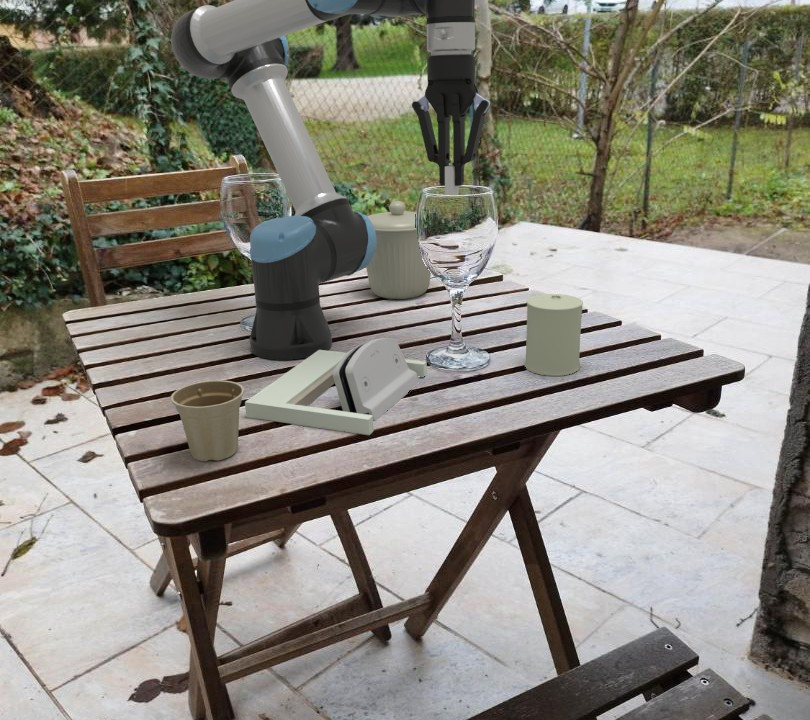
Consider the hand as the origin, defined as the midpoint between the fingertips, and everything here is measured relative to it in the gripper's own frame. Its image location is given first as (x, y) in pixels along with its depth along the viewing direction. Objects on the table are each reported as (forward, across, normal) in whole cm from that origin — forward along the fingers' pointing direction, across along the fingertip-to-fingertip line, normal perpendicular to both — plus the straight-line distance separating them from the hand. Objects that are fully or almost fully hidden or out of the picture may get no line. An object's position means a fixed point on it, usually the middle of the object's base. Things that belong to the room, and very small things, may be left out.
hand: (451, 205), depth 128 cm
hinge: (+27, -5, -22) cm, 35 cm away
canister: (+27, -24, +35) cm, 50 cm away
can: (+27, +18, -1) cm, 32 cm away
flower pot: (+27, -19, -46) cm, 56 cm away
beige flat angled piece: (+26, -11, -23) cm, 37 cm away
